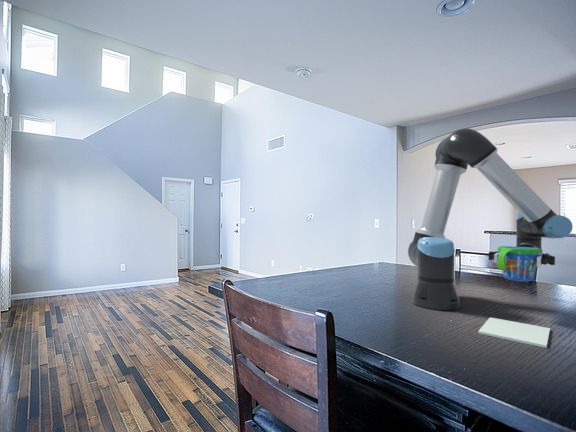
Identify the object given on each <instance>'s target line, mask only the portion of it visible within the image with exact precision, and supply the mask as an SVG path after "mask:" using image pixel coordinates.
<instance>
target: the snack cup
mask: <svg viewBox="0 0 576 432" xmlns="http://www.w3.org/2000/svg"><path fill="white" fill-rule="evenodd" d="M496 248H497V251H498V252H499V257H498V261H497V263H496V267H497V269H498V270H500V271H502V276H503V279H506V280H509V281H514V282H533V281H534V277H535V273H536V269H538V268H539V267H537V263H536V262H537V256H538V255H539V253H540V249H538V248H530V247H516V246H510V245H508V246H507V245H505V246H504V245H502V246H501V245H499V246H497V247H496Z"/></svg>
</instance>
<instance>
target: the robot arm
mask: <svg viewBox="0 0 576 432" xmlns="http://www.w3.org/2000/svg"><path fill="white" fill-rule="evenodd" d="M434 156H435V161H434V165H433V167H434V169H435V170H436V173H435V177H434V179H433V183H432V188H431V191H430V194H429V198H428V201H427V204H426V208H425V213H424V216H423V219H422V223H421V225H420V228H419V229H417V230H416V231H415V232H414V235H413V239H412V241H411V242H410V244H409V245H408V247H407V255H408V258H409V260H410V261H411V263H413V265H414V266H416V267H417V283H416V286H415V289H414V291H413V294H412V303H413V304H414V305H416V306H418V307H421V308H425V309H430V310H439V311H452V310H453V311H454V310H458V309H460V307H461V304H460V303H461V301H460V298H459V295H458V291H457V290H456V286H455V252H456V249H455V245H454V242H453V241H452V240H451V239H448V238H447V237H446V236H445V230H446V227H447V225H448V224H447V223H448V220H449V217H450V213H451V210H452V207H453V204H454V203H453V202H454V199H455V196H456V192H457V188H458V185H459V182H460V179H461V176H462V175H463V174H465V173H466V172H467V169H468V167H470V168H472V169H477V170H478V171H479V172H480V174H482V175H483V176H484V177H485V178H486V180H487V181H488V182H490V183H491V185H492V186H493V187H495V189H496V190H497V191H498V192H499V193H500V194H501V195H502V196H503V197H504V198H505V200H507V201H508V202H509V204H510V205H512V207H514V208H515V209H516V211H517V213H516V220H515V222H516V226H515V227H516V228H515V229H516V241H515V242H516V244H515V247H530V248H538V249H540V253H539V255H538V256H537V262H536V263H537V267H538V268H540V267H541V266H542V265H551V266H555V265H556V257H555V256H554V255H551V254H550V253H543V249H542V242H543V241H542V238H547V239H564V238H566V237H568V236H569V235H570V234H571V233H572V231H573V222H572V221H571V220H570V218H568V217H567V216H564V215H561V214H557V213H556V212H554V211H553V209H552V208H551V207H550V206H549V205H548V204H547V203H546V202H545V201H544V200H543V199H542V198H541V197H540V196H539V195H538V194H537V193H536V192H535V190H533V189H532V187H530V186H529V185H528V184H527V183H526V182H525V180H523V179H522V177H521V176H520V175H519V174H518V173H517V172H515V170H514V169H513V168H512V167H511V166H510V165H509V164H508V163H507V162H506V161H505V160H504V159H503V158H502V157H501V156H500V155H499V154H498V148H497V147H496V146H495V145H494V144H493V143H492V142H491V140H489V139H488V138H487V137H486V136H485V135H484V134H482V133H481V132H479V131H477V130H475V129H472V128H469V127H467V128H460V129H456V130H454V131H453V132H452V133H451V134H450V135H448V136H447V137H445V138H444V139H442V141H440V142H439V143H438V145H437V147H436V149H435V154H434ZM498 257H499V252H498V250H497V251H488V260H489V261H492V260H493V263H494V264H497V261H498Z"/></svg>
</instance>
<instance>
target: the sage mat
mask: <svg viewBox="0 0 576 432" xmlns="http://www.w3.org/2000/svg"><path fill="white" fill-rule="evenodd" d="M550 332H551V328H550V327H546V326H540V325H535V324H530V323H523V322H518V321H511V320H506V319H502V318H496V317H489V318H488V319H487V320H486V321H485V322H484V324H483V325H482V326H481V327H480V328H479V329H478V331H477V333H478V334H479V335H484V336H489V337H494V338H498V339H502V340H508V341H511V342H516V343H521V344H525V345H531V346H535V347H540V348H544V349H547V348H548V342H549V338H550Z"/></svg>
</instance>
